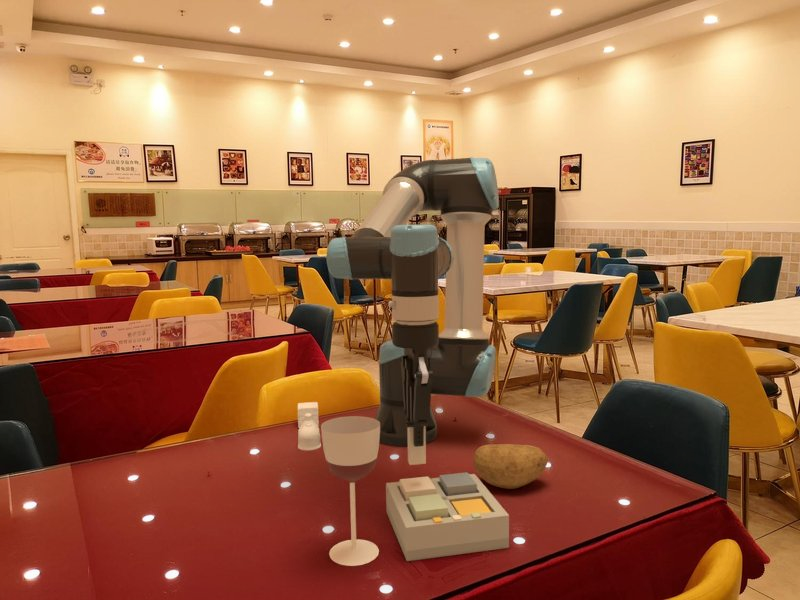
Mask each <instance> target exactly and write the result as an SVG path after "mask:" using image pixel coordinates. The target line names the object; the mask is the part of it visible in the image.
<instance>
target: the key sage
mask: <svg viewBox="0 0 800 600" xmlns="http://www.w3.org/2000/svg"><path fill="white" fill-rule="evenodd" d="M409 512H410V514H411V516H412V518H413V520H414V521H421V520H430V519H433V518H436V517H441V518H447V517H448V507H447V505H446V504H445V502H444V500H443V499H442V497H441V496H440V494H433V495H424V496H415V497H409Z"/></svg>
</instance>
